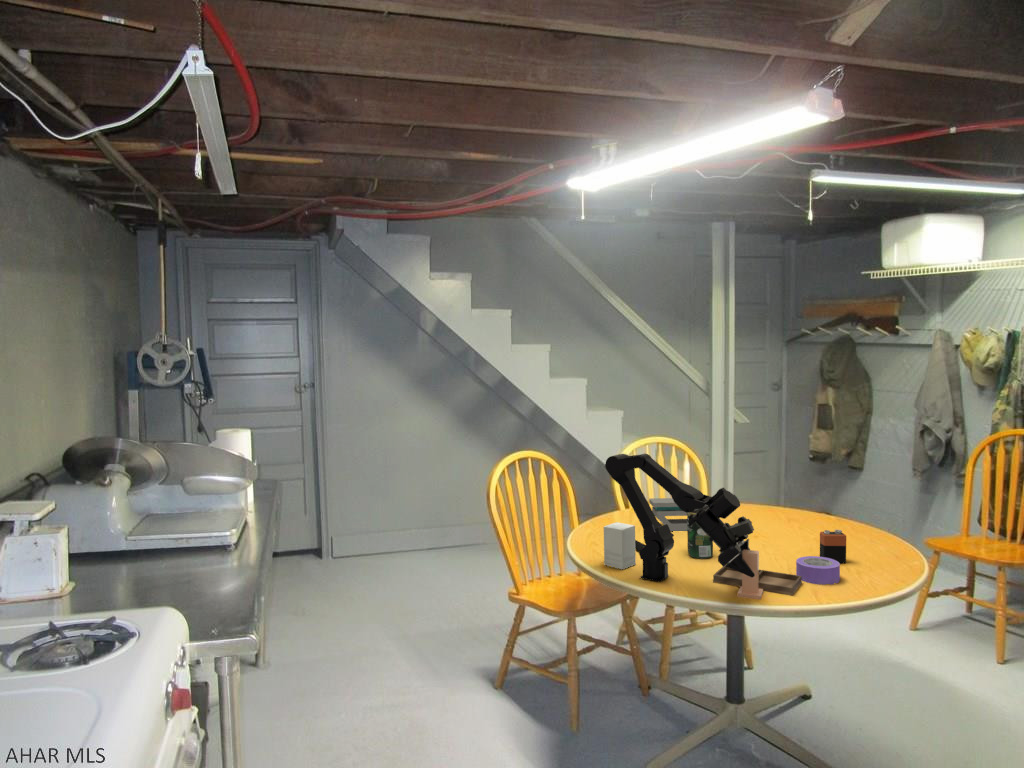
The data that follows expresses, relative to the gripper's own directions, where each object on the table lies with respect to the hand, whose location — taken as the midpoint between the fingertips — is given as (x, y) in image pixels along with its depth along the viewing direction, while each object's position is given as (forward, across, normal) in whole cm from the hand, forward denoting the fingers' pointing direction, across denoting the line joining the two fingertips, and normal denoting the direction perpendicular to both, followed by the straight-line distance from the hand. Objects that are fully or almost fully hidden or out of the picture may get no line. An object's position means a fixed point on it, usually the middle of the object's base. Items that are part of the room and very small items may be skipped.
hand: (755, 571), depth 196 cm
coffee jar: (-10, +32, +20) cm, 39 cm away
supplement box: (-25, +12, +35) cm, 44 cm away
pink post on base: (+4, 0, +6) cm, 7 cm away
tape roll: (+15, +22, -6) cm, 27 cm away
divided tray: (+4, +11, +5) cm, 13 cm away
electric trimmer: (-22, +27, +32) cm, 47 cm away
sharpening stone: (-18, +64, +28) cm, 72 cm away
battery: (+18, +41, -8) cm, 45 cm away
